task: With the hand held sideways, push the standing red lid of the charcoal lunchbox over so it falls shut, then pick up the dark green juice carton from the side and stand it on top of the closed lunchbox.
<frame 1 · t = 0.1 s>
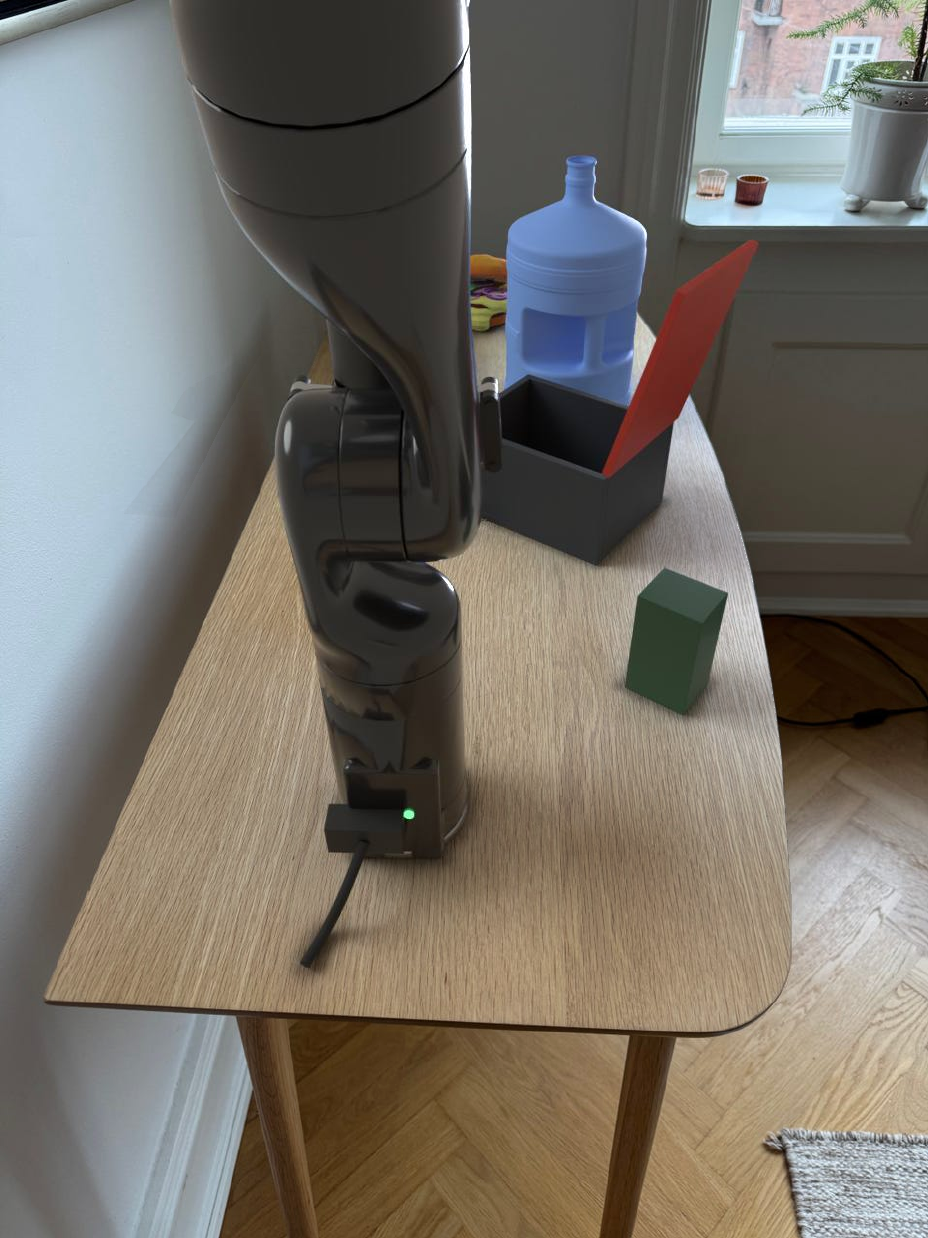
hand: (403, 511, 67), 17 cm above the table, tool pointing down, fingers open, 8 cm apart
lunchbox: (558, 504, 98), on the table
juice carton: (666, 685, 77), on the table
lunchbox lid: (677, 362, 80), point 19 cm above the table, hinge at 105.0°
cheeseburger: (483, 318, 135), on the table
snack package: (397, 377, 121), on the table
water jug: (566, 402, 115), on the table
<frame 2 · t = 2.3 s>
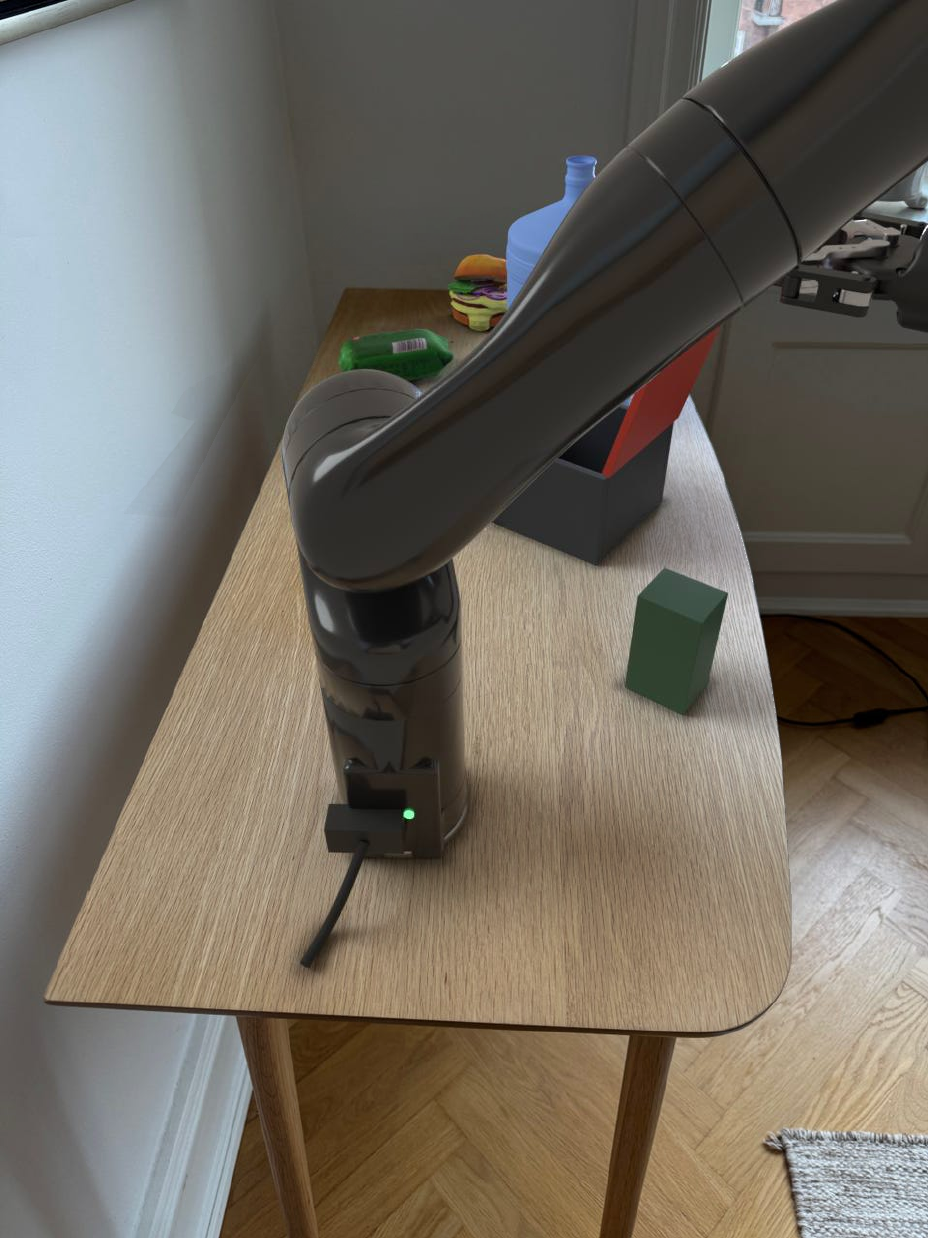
hand: (759, 243, 70), 30 cm above the table, tool horizontal, fingers open, 8 cm apart
nothing on the table moved.
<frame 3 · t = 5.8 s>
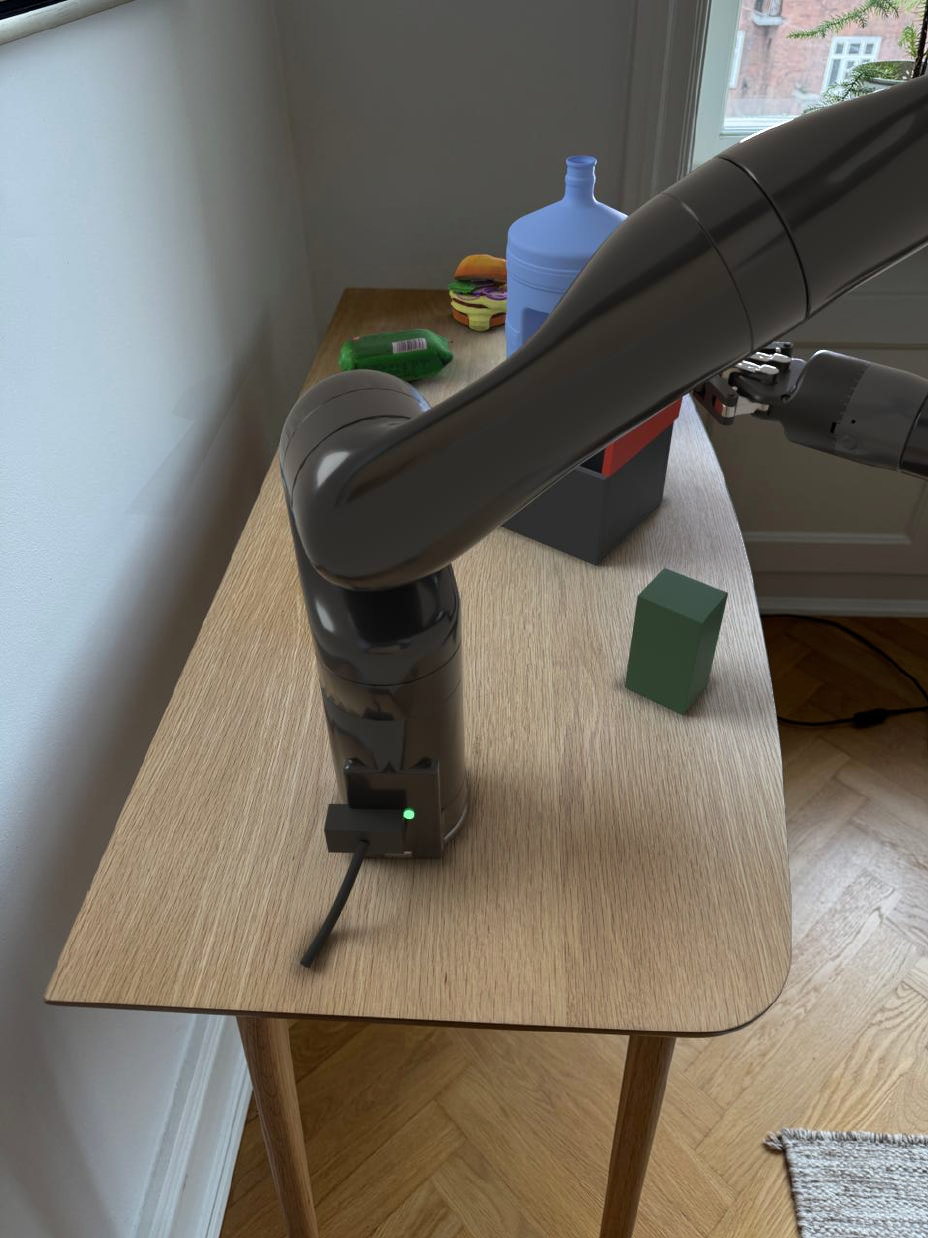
hand: (663, 355, 80), 20 cm above the table, tool horizontal, fingers closed
lunchbox lid: (658, 354, 80), point 19 cm above the table, hinge at 93.2°, touching gripper
everything else where it was.
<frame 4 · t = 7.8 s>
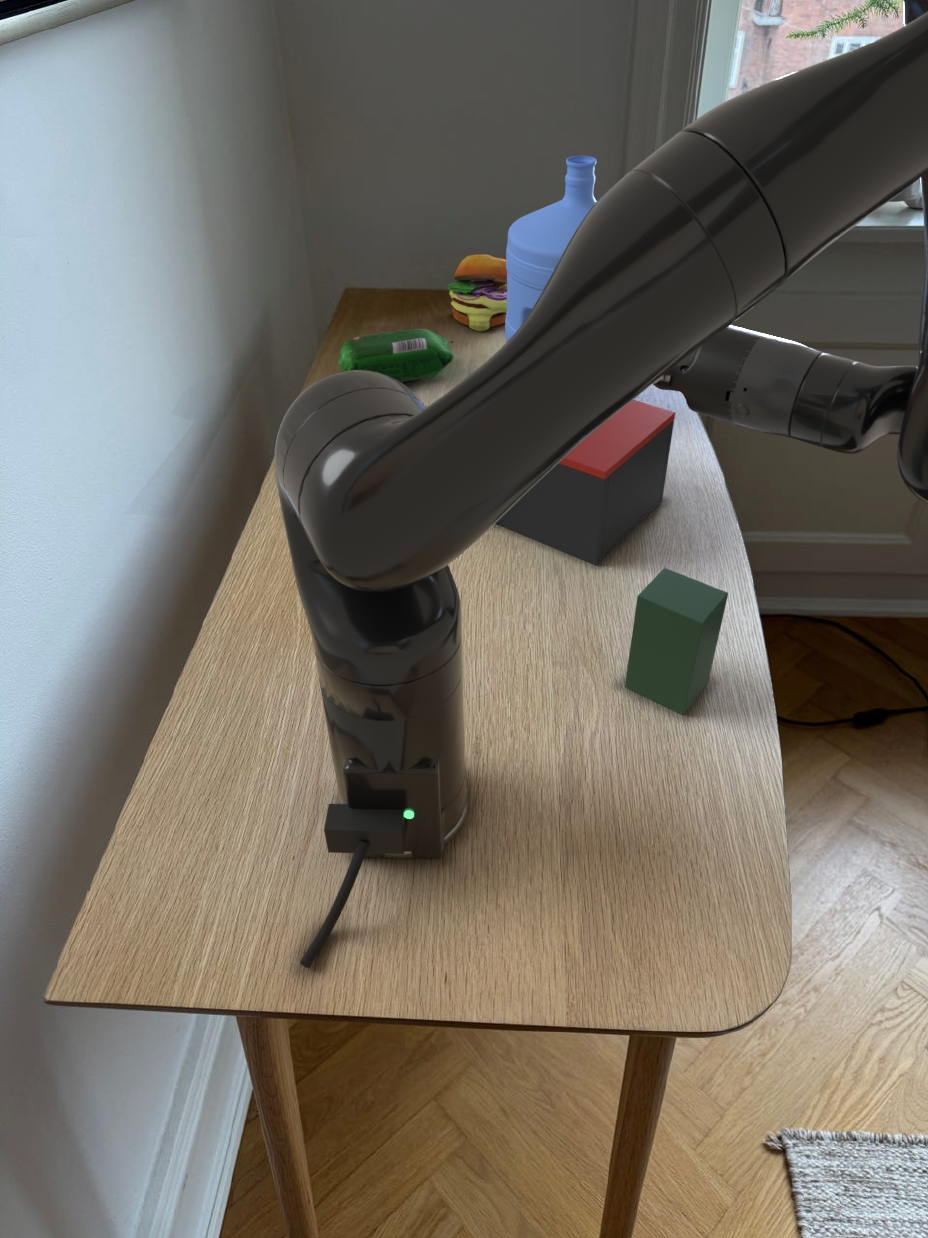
hand: (578, 331, 84), 19 cm above the table, tool horizontal, fingers closed
lunchbox lid: (559, 417, 91), point 10 cm above the table, hinge at -0.1°
everything else where it was.
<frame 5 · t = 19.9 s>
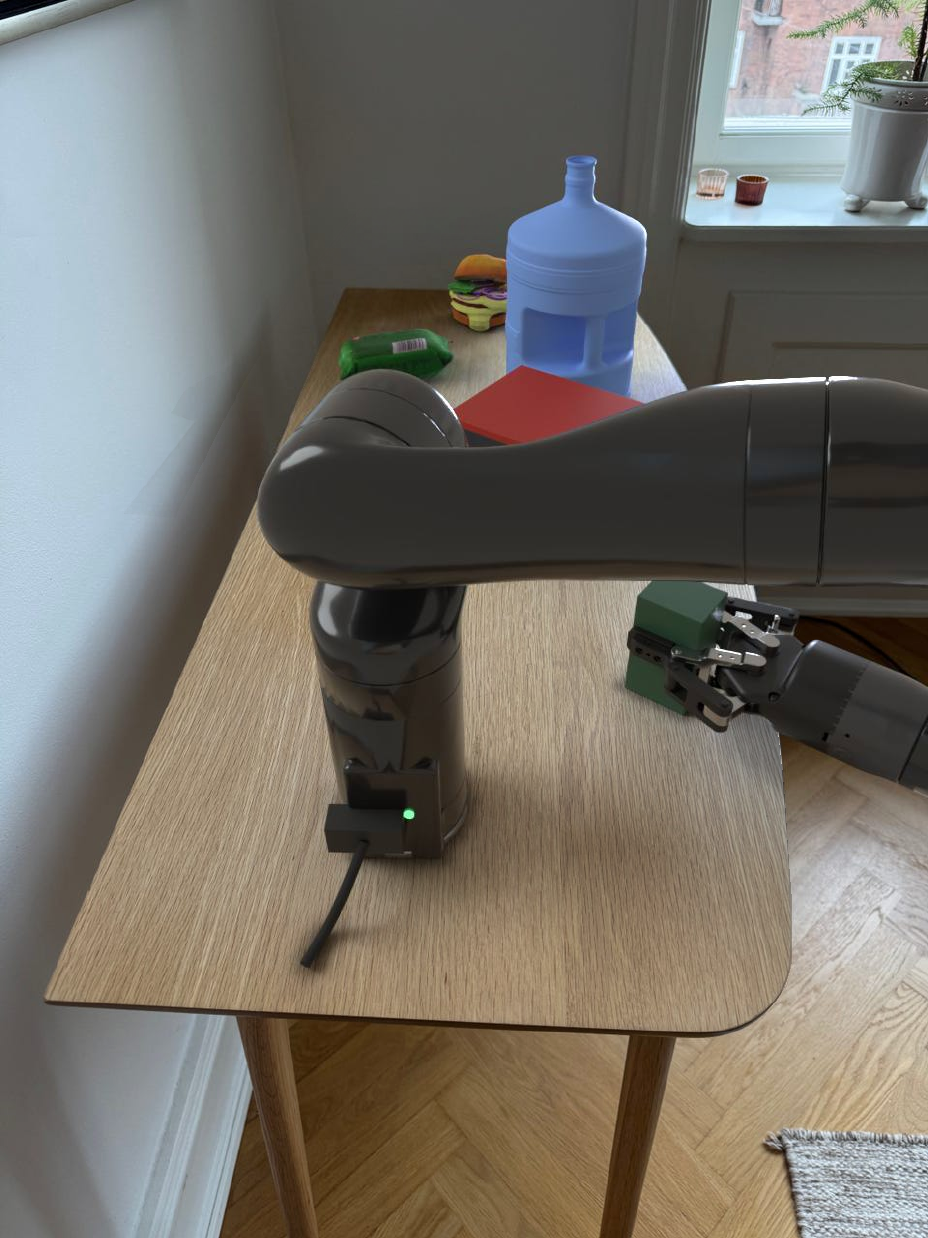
hand: (645, 619, 74), 6 cm above the table, tool horizontal, fingers closed on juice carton, 4 cm apart
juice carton: (666, 685, 77), on the table, touching gripper
everything else where it was.
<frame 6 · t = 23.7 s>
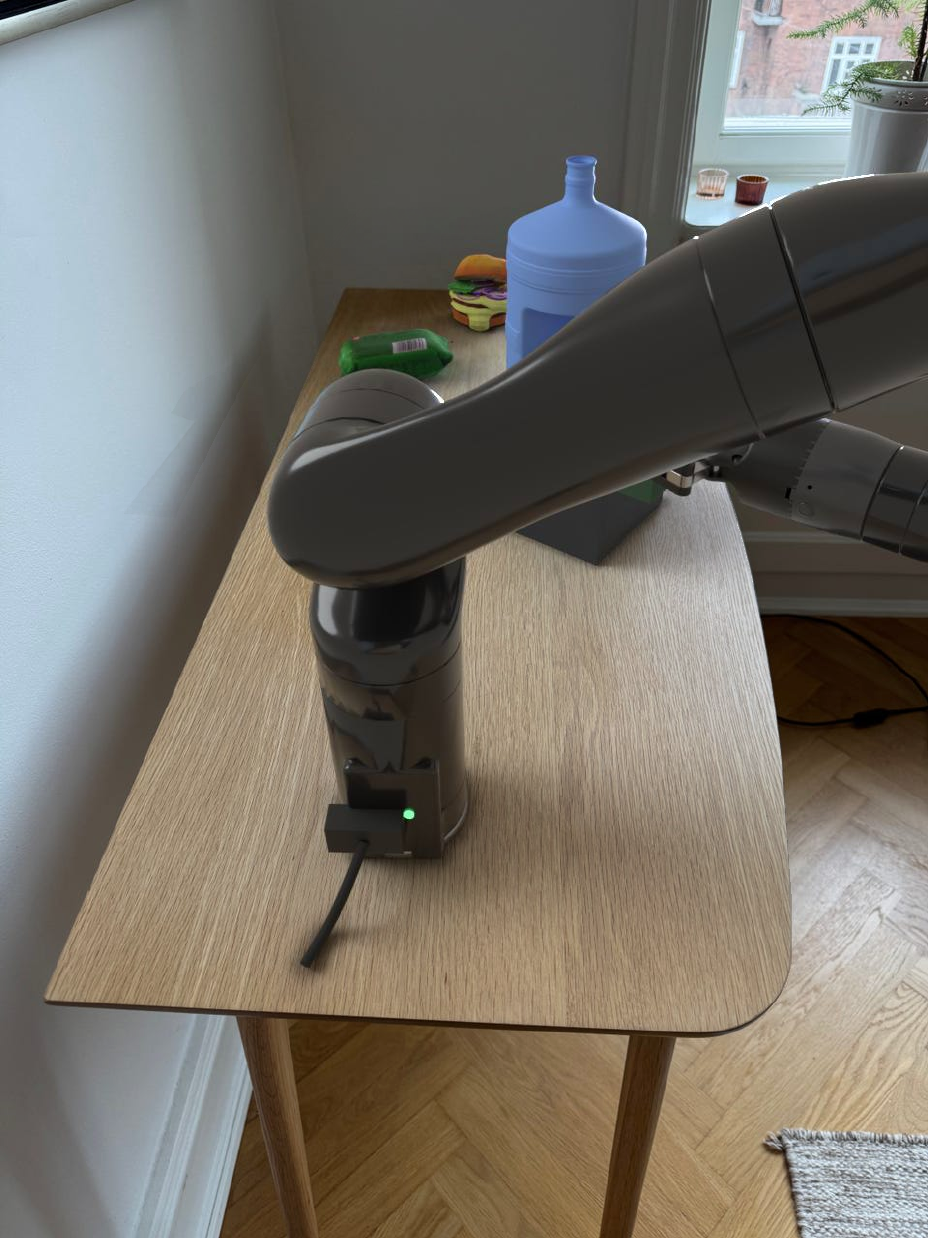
hand: (612, 407, 73), 19 cm above the table, tool horizontal, fingers closed on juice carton, 4 cm apart
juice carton: (634, 481, 76), point 13 cm above the table, touching gripper
everything else where it was.
when the fingers open (17 cm above the table, at t = 27.8 s): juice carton stays where it is, resting on lunchbox lid.
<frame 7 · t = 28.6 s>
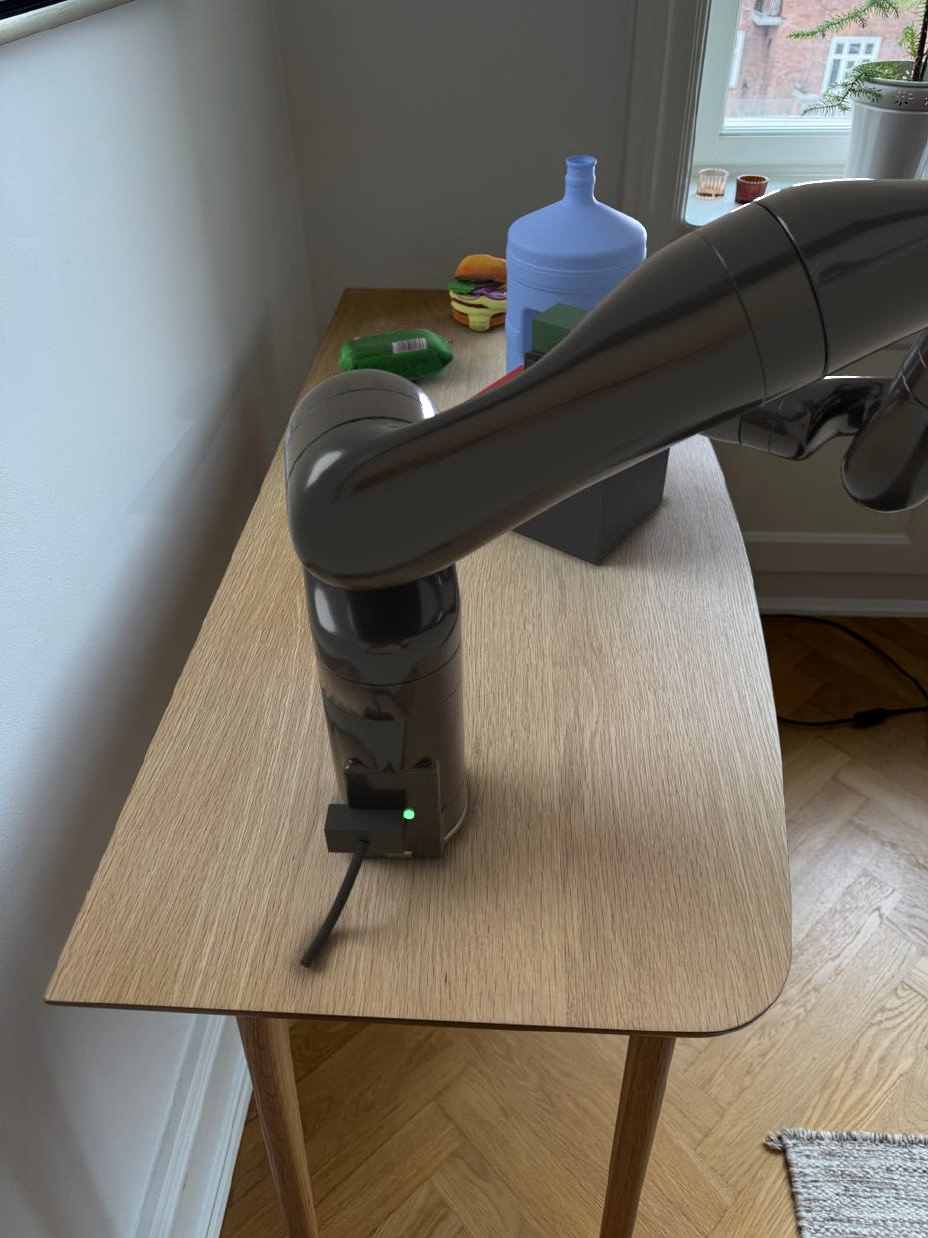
hand: (551, 344, 87), 18 cm above the table, tool horizontal, fingers open, 8 cm apart
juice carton: (564, 414, 91), point 11 cm above the table, touching lunchbox lid
lunchbox lid: (559, 417, 91), point 10 cm above the table, hinge at -0.2°, touching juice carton, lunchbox
everything else where it was.
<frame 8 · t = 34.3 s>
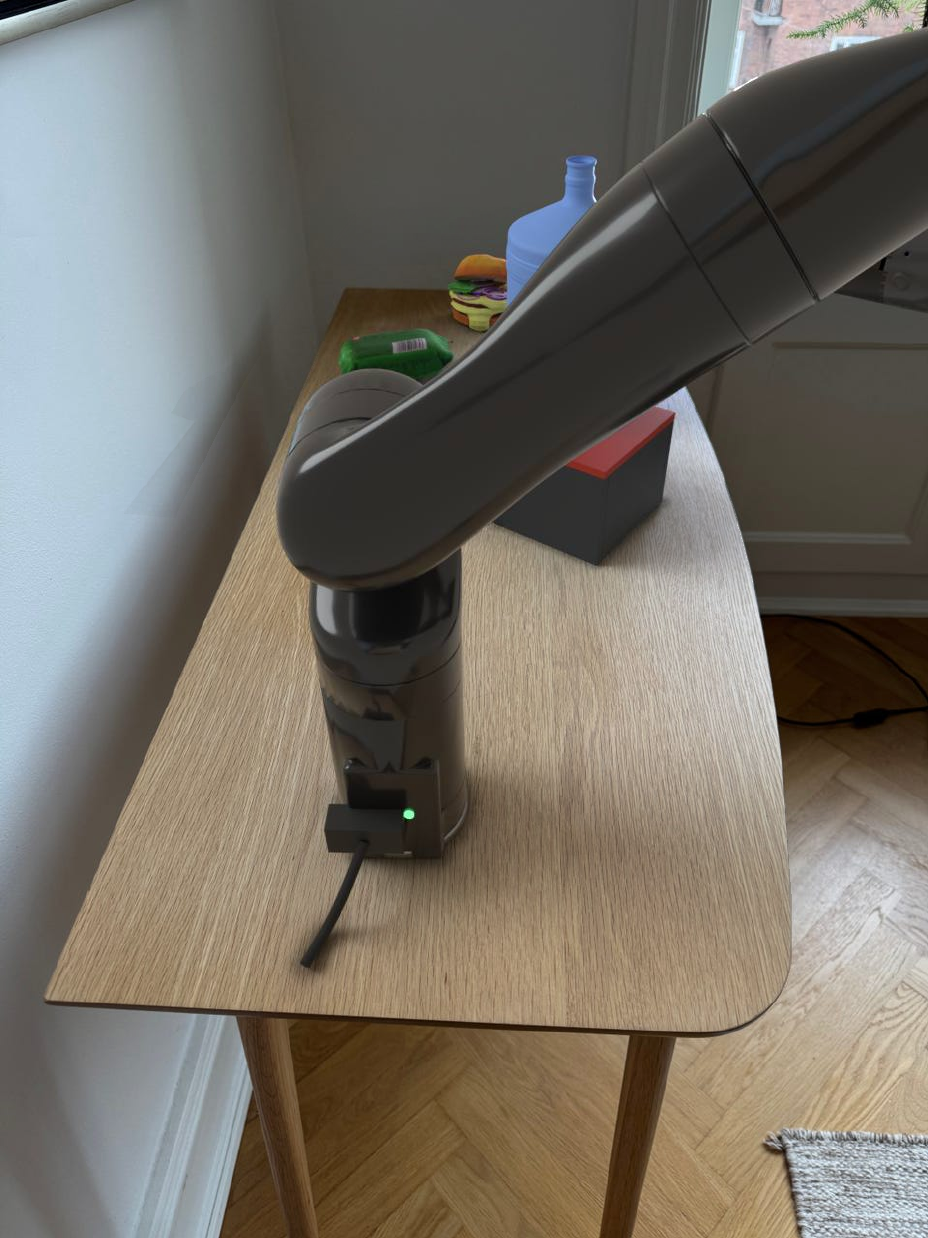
hand: (698, 208, 71), 32 cm above the table, tool horizontal, fingers open, 8 cm apart
nothing on the table moved.
at the end: lunchbox lid at +0° (first picture: +105°); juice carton inside the target area on the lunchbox (0.1 cm from its centre), point 10.6 cm above the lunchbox's base; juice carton tilted 0° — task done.
